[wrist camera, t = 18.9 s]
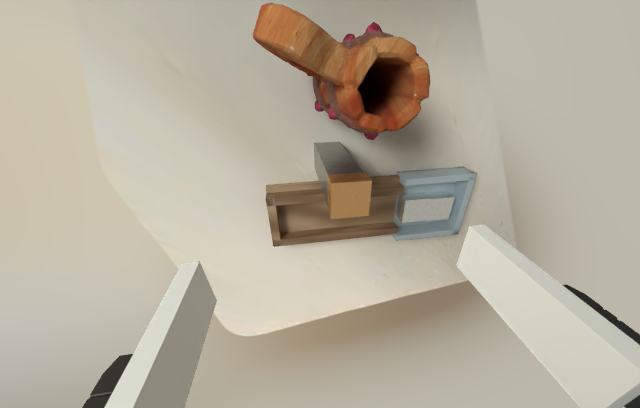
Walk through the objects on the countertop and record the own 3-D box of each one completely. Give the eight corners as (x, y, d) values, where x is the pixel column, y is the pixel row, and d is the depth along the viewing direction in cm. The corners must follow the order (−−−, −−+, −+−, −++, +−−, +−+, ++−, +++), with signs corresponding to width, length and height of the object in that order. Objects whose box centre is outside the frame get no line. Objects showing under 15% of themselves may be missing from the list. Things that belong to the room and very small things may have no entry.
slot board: (266, 185, 34) (264, 193, 31) (397, 174, 36) (405, 182, 33) (274, 239, 39) (274, 250, 36) (389, 227, 41) (396, 237, 38)
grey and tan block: (313, 142, 32) (331, 183, 20) (339, 141, 32) (372, 180, 20) (314, 167, 34) (331, 219, 21) (338, 166, 34) (368, 215, 22)
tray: (397, 171, 36) (406, 179, 33) (463, 166, 37) (477, 173, 34) (389, 230, 41) (396, 240, 38) (447, 224, 42) (457, 234, 39)
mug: (391, 69, 29) (480, 63, 16) (359, 131, 32) (410, 168, 19) (280, -3, 24) (275, -97, 11) (255, 77, 27) (227, 78, 14)
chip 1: (398, 193, 37) (405, 200, 35) (422, 191, 37) (430, 198, 35) (395, 214, 39) (401, 222, 37) (417, 212, 39) (425, 220, 37)
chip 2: (422, 192, 37) (430, 199, 35) (445, 190, 38) (455, 196, 36) (417, 213, 39) (425, 221, 37) (439, 211, 40) (448, 218, 38)
